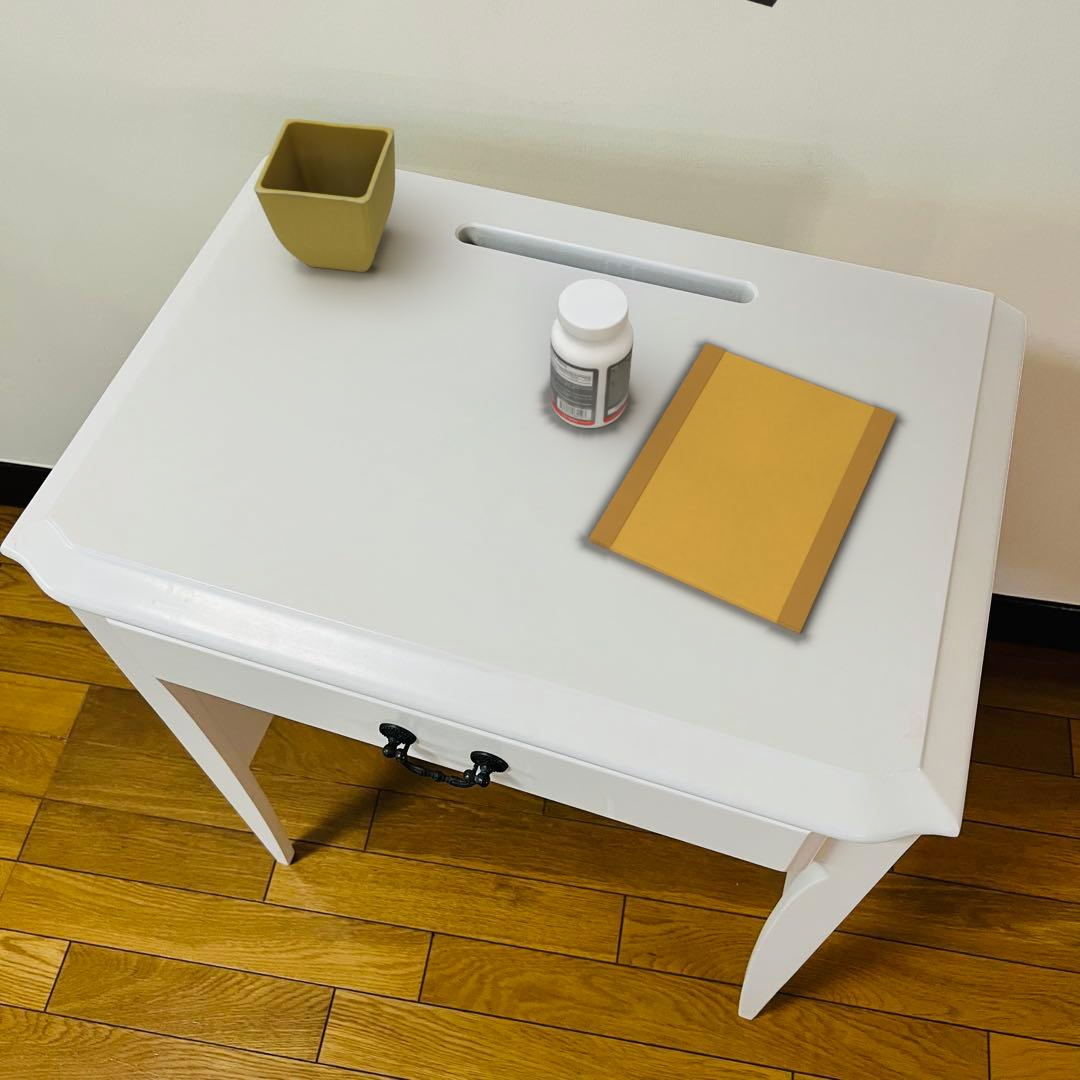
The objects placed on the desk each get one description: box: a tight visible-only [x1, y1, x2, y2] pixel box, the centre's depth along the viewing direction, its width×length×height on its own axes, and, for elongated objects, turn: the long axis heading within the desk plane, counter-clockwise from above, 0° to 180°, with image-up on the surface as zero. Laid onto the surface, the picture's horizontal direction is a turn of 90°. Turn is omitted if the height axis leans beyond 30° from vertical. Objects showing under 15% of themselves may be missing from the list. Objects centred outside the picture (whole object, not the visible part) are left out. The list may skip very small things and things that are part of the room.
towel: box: [589, 343, 898, 634], centre depth 73 cm, size 15×20×1 cm
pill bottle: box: [549, 278, 634, 429], centre depth 73 cm, size 6×6×10 cm
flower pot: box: [253, 118, 396, 273], centre depth 82 cm, size 9×9×9 cm
